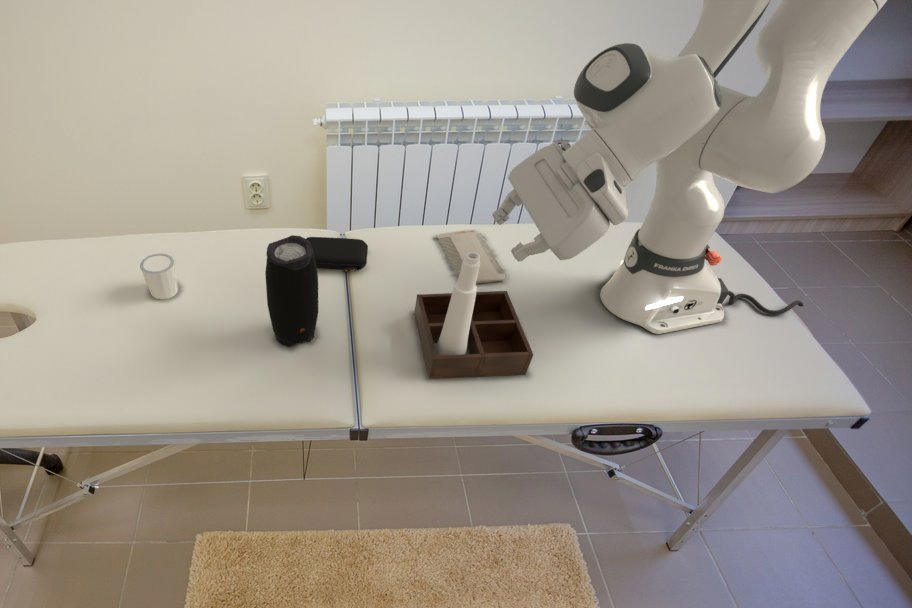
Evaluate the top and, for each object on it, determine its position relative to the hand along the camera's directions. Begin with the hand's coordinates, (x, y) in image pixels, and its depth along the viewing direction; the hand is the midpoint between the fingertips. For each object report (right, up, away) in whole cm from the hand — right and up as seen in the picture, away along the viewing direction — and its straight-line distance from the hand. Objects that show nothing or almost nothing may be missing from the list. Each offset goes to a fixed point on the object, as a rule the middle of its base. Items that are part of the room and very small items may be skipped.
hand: (504, 237), depth 85 cm
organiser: (0, -14, +22) cm, 26 cm away
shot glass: (-60, -2, +34) cm, 69 cm away
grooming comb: (+6, +7, +40) cm, 40 cm away
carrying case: (-24, +6, +40) cm, 47 cm away
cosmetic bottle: (-4, -17, +19) cm, 25 cm away
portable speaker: (-32, -12, +25) cm, 42 cm away
